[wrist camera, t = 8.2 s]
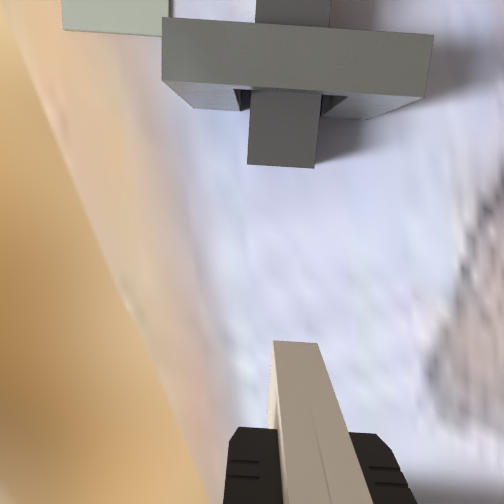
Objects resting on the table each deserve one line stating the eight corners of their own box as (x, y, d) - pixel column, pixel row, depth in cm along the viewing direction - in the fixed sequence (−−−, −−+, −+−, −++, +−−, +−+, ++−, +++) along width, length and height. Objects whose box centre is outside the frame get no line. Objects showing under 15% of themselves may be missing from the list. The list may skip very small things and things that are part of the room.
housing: (367, 119, 29) (424, 97, 19) (193, 108, 29) (161, 80, 19) (372, 79, 28) (434, 35, 18) (194, 67, 28) (161, 16, 18)
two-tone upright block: (302, 167, 30) (314, 168, 24) (248, 164, 30) (247, 164, 24) (324, -59, 26) (343, -123, 20) (261, -63, 26) (263, -129, 20)
